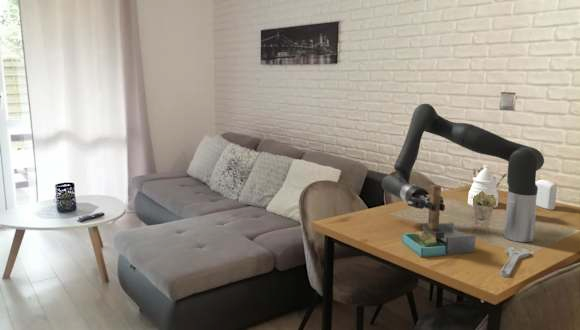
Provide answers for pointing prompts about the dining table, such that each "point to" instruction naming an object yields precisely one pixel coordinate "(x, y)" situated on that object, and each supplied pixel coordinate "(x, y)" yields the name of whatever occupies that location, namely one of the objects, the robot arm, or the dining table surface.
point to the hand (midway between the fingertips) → (439, 208)
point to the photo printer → (546, 194)
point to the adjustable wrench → (512, 260)
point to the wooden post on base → (434, 214)
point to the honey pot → (483, 185)
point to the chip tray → (426, 251)
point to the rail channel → (456, 240)
